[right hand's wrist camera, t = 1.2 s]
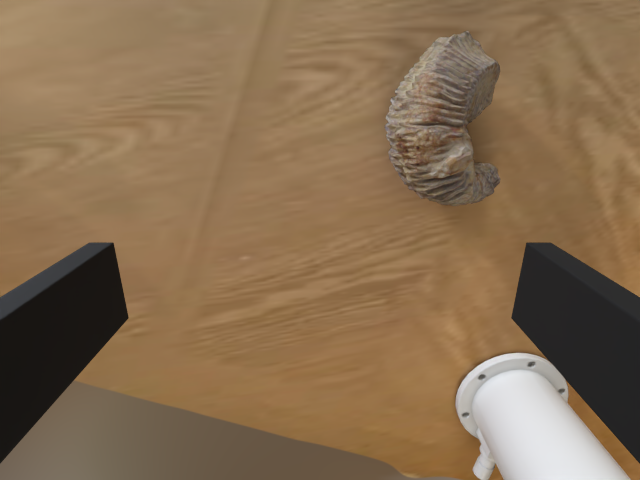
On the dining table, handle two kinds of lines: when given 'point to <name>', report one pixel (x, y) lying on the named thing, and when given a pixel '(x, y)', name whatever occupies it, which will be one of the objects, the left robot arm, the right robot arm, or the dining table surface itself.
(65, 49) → the dining table surface
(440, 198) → the seashell
